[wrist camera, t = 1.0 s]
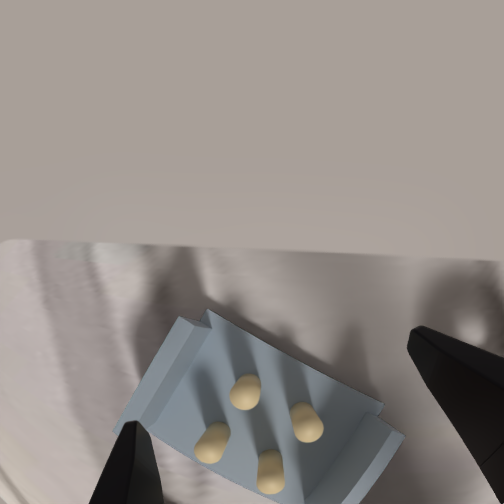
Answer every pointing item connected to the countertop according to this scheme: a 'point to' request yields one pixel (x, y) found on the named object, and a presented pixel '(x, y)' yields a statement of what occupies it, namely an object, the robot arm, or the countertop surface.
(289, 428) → the peg stand
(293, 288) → the countertop surface
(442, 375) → the robot arm
